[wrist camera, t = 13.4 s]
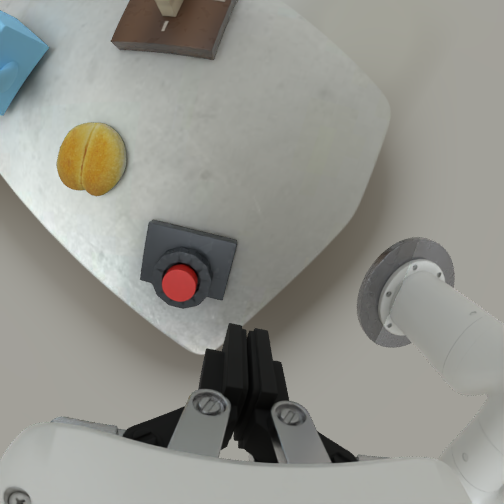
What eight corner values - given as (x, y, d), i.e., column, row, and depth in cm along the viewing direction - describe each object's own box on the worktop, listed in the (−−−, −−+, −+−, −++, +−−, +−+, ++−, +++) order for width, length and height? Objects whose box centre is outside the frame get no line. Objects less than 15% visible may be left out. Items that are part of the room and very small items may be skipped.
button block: (237, 239, 33) (237, 248, 30) (220, 303, 35) (219, 317, 32) (152, 219, 32) (143, 225, 28) (142, 283, 34) (134, 295, 31)
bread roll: (119, 200, 31) (105, 205, 27) (61, 182, 30) (43, 186, 26) (138, 131, 29) (126, 127, 25) (77, 118, 27) (60, 114, 24)
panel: (243, -16, 24) (244, -29, 21) (213, 60, 27) (211, 50, 24) (154, -24, 22) (149, -35, 19) (119, 49, 25) (109, 41, 22)
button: (200, 268, 31) (198, 274, 29) (194, 298, 32) (192, 305, 30) (168, 260, 30) (164, 266, 28) (163, 290, 31) (159, 297, 29)
